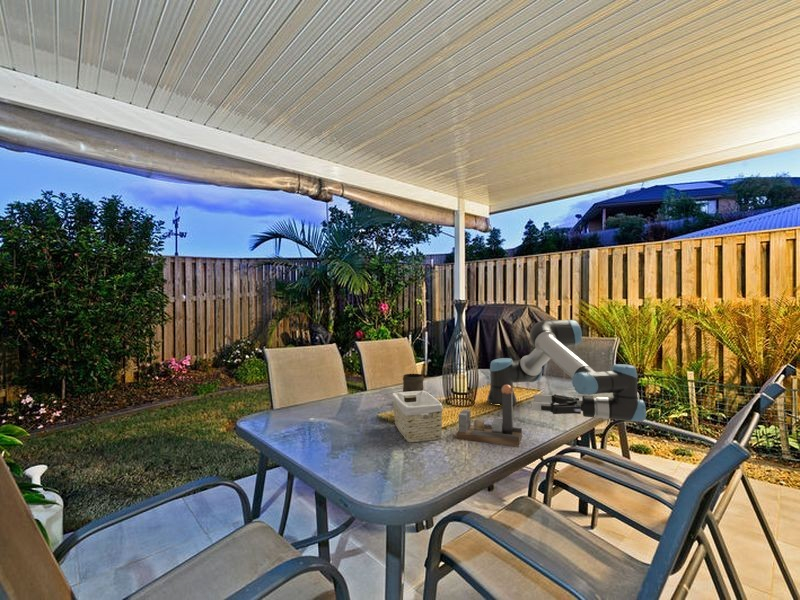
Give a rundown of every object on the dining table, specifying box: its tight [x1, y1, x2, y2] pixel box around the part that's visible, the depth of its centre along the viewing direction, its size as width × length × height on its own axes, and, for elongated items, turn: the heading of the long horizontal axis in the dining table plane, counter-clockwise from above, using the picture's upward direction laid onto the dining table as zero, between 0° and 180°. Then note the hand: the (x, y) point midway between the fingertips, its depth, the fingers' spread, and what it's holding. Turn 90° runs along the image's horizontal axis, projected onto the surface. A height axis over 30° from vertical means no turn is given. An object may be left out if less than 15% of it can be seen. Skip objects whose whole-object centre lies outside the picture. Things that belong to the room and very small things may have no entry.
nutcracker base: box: [455, 408, 523, 447], centre depth 149 cm, size 12×24×9 cm, turn 66°
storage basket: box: [391, 390, 444, 443], centre depth 156 cm, size 24×16×15 cm
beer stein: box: [402, 373, 425, 402], centre depth 181 cm, size 15×11×20 cm
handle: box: [491, 385, 514, 435], centre depth 147 cm, size 7×8×19 cm
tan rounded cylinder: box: [473, 419, 485, 431], centre depth 151 cm, size 4×4×4 cm
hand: (532, 401), depth 144 cm, fingers open, 13 cm apart
